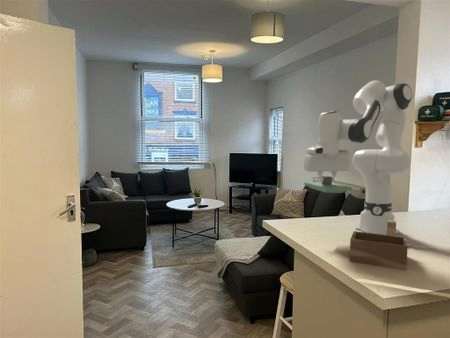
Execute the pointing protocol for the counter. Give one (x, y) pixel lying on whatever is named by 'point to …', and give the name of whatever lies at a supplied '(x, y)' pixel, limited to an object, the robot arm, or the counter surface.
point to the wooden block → (391, 227)
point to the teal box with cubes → (328, 186)
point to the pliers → (418, 247)
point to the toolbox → (379, 250)
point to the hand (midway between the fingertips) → (326, 181)
